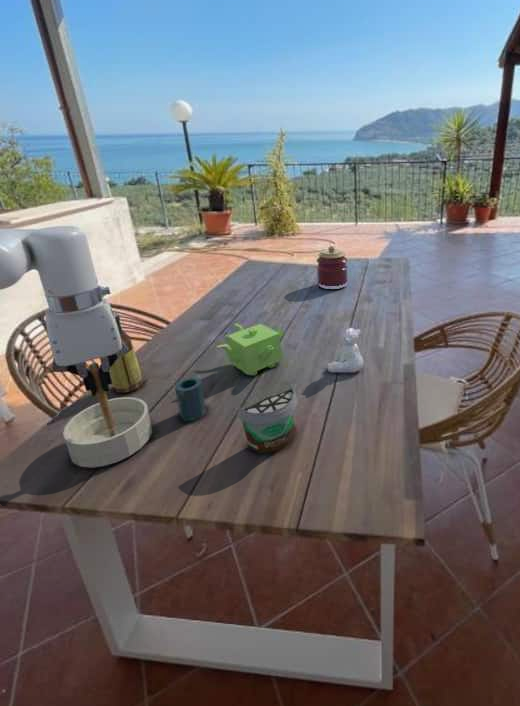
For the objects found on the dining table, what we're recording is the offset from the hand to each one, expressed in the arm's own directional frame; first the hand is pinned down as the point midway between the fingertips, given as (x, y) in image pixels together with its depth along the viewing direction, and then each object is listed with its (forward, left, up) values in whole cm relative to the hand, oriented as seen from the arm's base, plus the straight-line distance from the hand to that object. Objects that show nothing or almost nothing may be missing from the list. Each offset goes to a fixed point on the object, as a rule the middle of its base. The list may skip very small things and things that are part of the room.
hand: (100, 389), depth 73 cm
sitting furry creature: (+40, +37, -14) cm, 57 cm away
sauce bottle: (-13, +19, -14) cm, 27 cm away
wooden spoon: (0, 0, -12) cm, 12 cm away
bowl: (-2, +1, -14) cm, 14 cm away
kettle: (+14, +34, -14) cm, 40 cm away
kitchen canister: (+21, +102, -14) cm, 105 cm away
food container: (+31, +6, -14) cm, 35 cm away
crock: (+9, +12, -14) cm, 21 cm away
